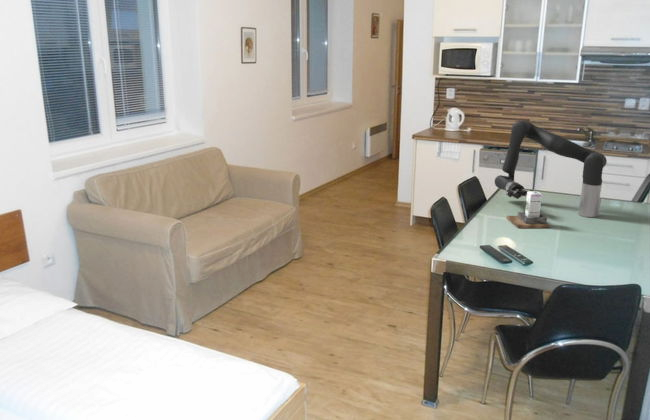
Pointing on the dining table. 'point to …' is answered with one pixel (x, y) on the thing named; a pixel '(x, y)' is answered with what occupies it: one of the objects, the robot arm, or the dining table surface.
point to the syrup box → (533, 204)
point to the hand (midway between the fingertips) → (526, 197)
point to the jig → (528, 221)
